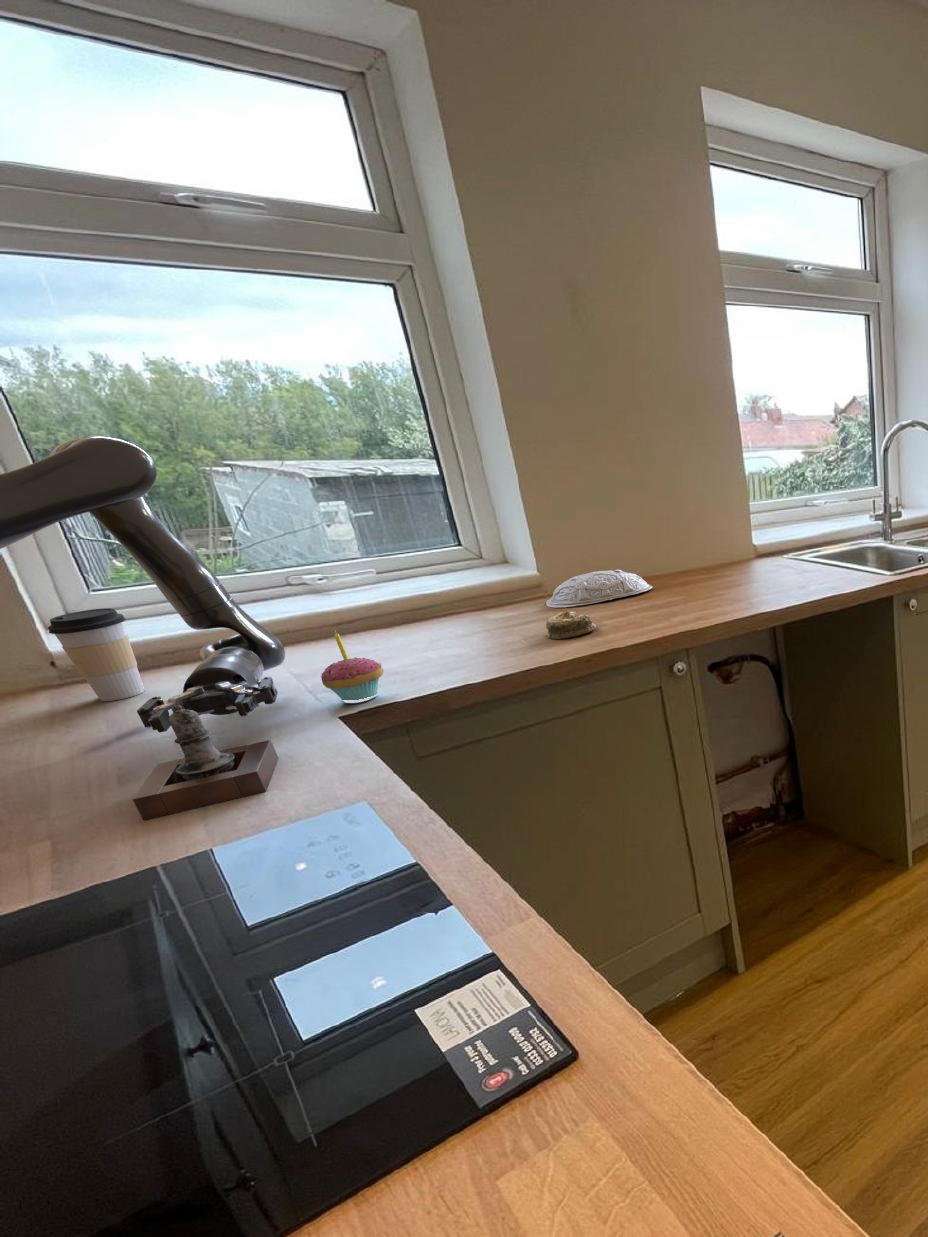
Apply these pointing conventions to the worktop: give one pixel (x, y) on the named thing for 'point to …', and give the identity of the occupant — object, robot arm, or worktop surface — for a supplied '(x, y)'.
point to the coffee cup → (100, 651)
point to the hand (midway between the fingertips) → (200, 717)
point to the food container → (596, 588)
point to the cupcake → (352, 676)
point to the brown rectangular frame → (206, 782)
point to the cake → (568, 625)
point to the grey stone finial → (197, 747)
